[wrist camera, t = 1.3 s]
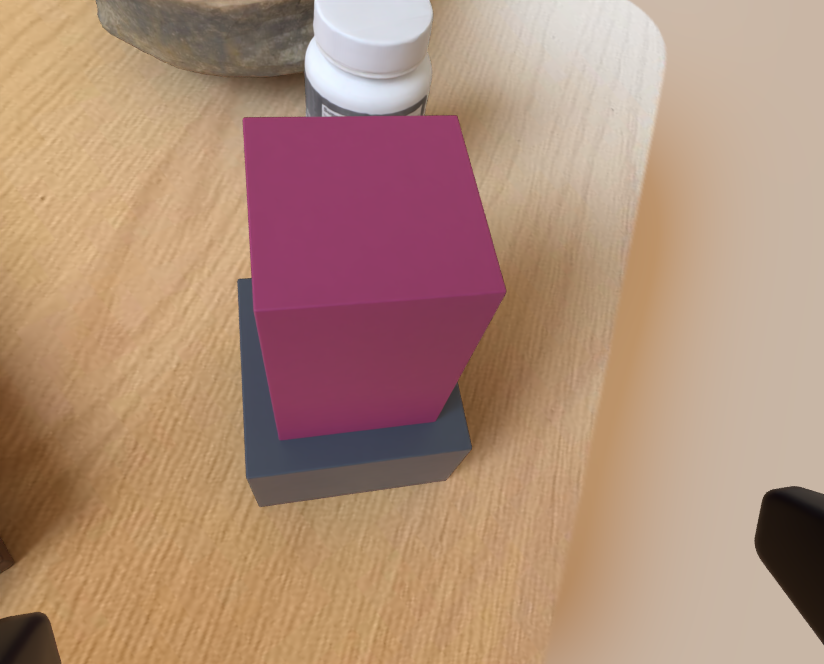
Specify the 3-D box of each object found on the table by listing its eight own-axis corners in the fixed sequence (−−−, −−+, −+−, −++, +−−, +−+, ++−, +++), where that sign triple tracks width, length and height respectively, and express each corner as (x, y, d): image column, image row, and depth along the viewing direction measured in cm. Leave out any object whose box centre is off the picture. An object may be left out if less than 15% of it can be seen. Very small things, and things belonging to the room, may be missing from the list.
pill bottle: (322, 128, 28) (324, -56, 20) (418, 153, 28) (455, -21, 20) (294, 203, 25) (283, 26, 18) (399, 229, 26) (431, 64, 18)
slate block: (446, 480, 21) (472, 449, 17) (259, 507, 19) (246, 479, 16) (415, 320, 24) (432, 265, 20) (249, 334, 22) (237, 278, 19)
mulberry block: (435, 422, 17) (508, 292, 11) (279, 440, 16) (253, 311, 10) (410, 291, 19) (457, 114, 13) (268, 301, 18) (242, 116, 12)
